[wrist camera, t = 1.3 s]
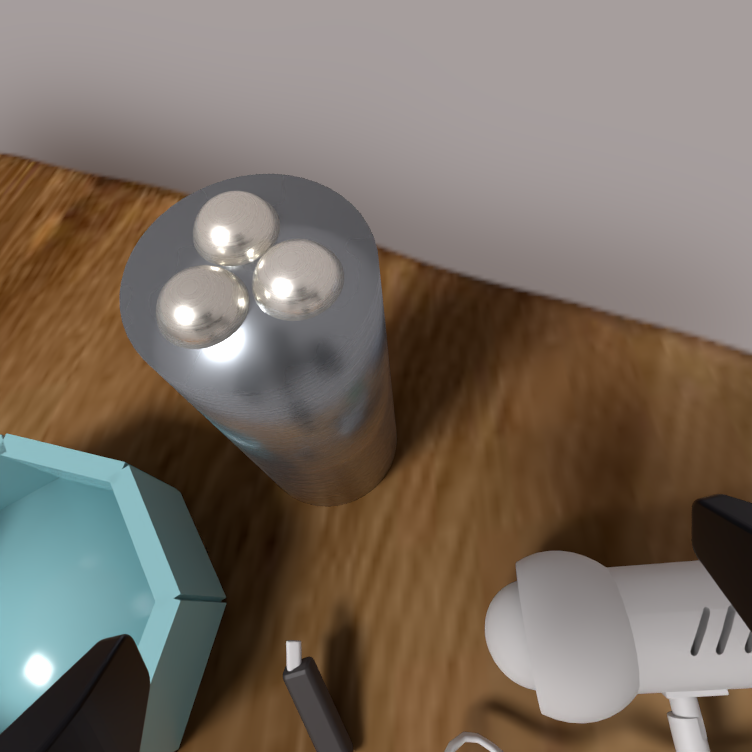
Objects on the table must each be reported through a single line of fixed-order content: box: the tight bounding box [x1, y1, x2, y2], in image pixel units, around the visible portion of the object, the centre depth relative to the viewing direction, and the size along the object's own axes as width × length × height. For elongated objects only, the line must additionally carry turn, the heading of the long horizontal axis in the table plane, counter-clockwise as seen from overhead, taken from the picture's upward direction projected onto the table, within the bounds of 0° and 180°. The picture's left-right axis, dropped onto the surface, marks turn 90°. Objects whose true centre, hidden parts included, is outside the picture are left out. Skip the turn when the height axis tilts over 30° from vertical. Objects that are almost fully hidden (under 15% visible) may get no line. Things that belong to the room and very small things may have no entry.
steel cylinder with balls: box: [120, 174, 397, 506], centre depth 17 cm, size 6×6×13 cm
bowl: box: [0, 434, 226, 752], centre depth 19 cm, size 13×13×4 cm
